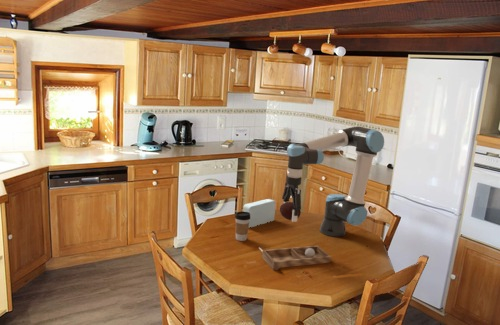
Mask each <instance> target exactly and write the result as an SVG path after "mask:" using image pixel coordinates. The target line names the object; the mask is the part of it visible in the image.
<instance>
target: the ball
mask: <svg viewBox="0 0 500 325" xmlns="http://www.w3.org/2000/svg"><path fill="white" fill-rule="evenodd" d="M305 255H306V257H308V258H313V257H314V255H315V251H314V250H313V249H312V248H308V249H306V251H305Z"/></svg>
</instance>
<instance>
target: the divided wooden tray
mask: <svg viewBox="0 0 500 325" xmlns="http://www.w3.org/2000/svg"><path fill="white" fill-rule="evenodd" d="M308 248H312V249H313V250H314V251H315V255H314V257H313V258H308V257H306V255H305V251H306V249H308ZM262 250H263V253H262V252H261V253H262V254H261V259H263V261H264V262H265V263H266V264H267V265H268V266H269V267H270V268H271V270H272V271H276V270H281V268H288V267H289V268H290V267H297V266H298V267H299V266H309V265H317V264H327V263H328V264H329V263H331V260H332V257H331V255H330V254H328V253H327V252H326V251H325V250H324V249H322V248H321V247H320V246H319V245H308V246H298V247H296V246H295V247H284V248H282V247H281V248H273V249H262Z"/></svg>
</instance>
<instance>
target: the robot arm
mask: <svg viewBox="0 0 500 325" xmlns="http://www.w3.org/2000/svg"><path fill="white" fill-rule="evenodd" d="M384 146H385V138H384V135H383V134H382V132H381V131H379V130H376V129H373V128H367V127H364V126H352V127H348V128H344V129H339V130H338V131H337V132H336V133H333V134H330V135H327V136H323V137H319V138H317V139H313V140H309V141H306V142H302V143H299V144H297V143H291V144H289V145H288V147H286V148H287V149H286V153H287V156H288V161H287V169H286V172H287V173H286V180H285V184H284V186H285V187H284V190H283V192H282V197H281V199H282V200H283V204H284V203H286V202H290V199H291V198H292V202H293V206H294V208H293V213H292V220H291V223H294V222H295V223H296V222H298V219H297V217H298V210H300V211H301V210H302V204H301V203H302V201H301V200H302V199H301V198H302V197H301V193H302V190H301V189H299V186H300V185H301V184H302V176H303V168H304V165H315V166H316V165H320V164H322V163H323V161H324V158H325V154H324V152H325V151H328V150H333V149H335V148H338V147H341V148H342V147H343V148H344V147H355V153H356V154H357V155H356V160H355V164H354V169H353V173H352V175H351V176H352V178H351V182H350V186H349V190H348V194H347V195H346V194H341V193H340V194H339V193H337V194H336V193H329V194H328V195H327V196H326V198H325V199H326V200H325V207H324V208H325V209H324V215H323V220H322V222H321V224H320V226H319V232H320V233H322V234H323V235H325V236H328V237H329V236H330V237H336V238H337V237H344V236H345V235H346V232H347V230H346V225H345V223H347V224H349V225H352V226H355V227H356V226H359V225H361V224H363V223H364V222H365V220H366V219H367V217H368V210H367V208H366V207H365V204H366V202H365V200H364V198H365V195H366V194H365V193H366V189H367V184H368V180H369V176H370V172H371V168H372V163H373V159H374V158H375V157H376V156H377V155H378V153H380V152H381V151H382V149H383V148H384Z"/></svg>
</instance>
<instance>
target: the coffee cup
mask: <svg viewBox="0 0 500 325" xmlns="http://www.w3.org/2000/svg"><path fill="white" fill-rule="evenodd" d="M234 216H235V217H234V218H235V221H234V222H235V224H234V225H235V240H237V241H239V242H245V241H246V240H247V238H248V231H249V228H248V227H249V219H250V213H249V212H243V211H237V212H235V215H234Z"/></svg>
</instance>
